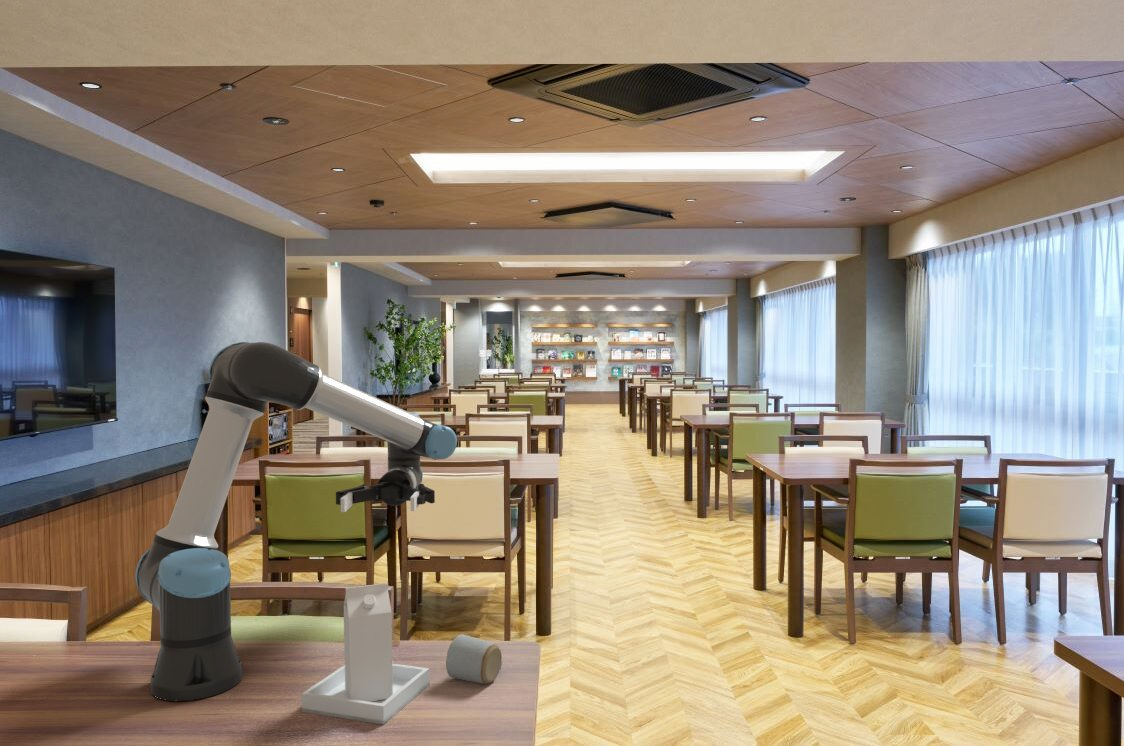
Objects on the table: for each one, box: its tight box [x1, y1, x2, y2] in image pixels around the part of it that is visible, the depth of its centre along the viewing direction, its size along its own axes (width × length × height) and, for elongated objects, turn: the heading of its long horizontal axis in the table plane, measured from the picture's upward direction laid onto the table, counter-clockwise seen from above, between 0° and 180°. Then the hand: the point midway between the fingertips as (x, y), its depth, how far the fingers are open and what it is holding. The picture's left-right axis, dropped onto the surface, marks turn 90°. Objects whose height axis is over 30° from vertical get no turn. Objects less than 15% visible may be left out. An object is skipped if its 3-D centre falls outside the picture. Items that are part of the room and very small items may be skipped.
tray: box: [301, 663, 430, 725], centre depth 135 cm, size 16×16×3 cm
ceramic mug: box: [445, 633, 503, 685], centre depth 144 cm, size 11×8×8 cm
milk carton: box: [343, 582, 393, 702], centre depth 135 cm, size 7×7×19 cm
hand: (377, 504), depth 153 cm, fingers open, 13 cm apart
